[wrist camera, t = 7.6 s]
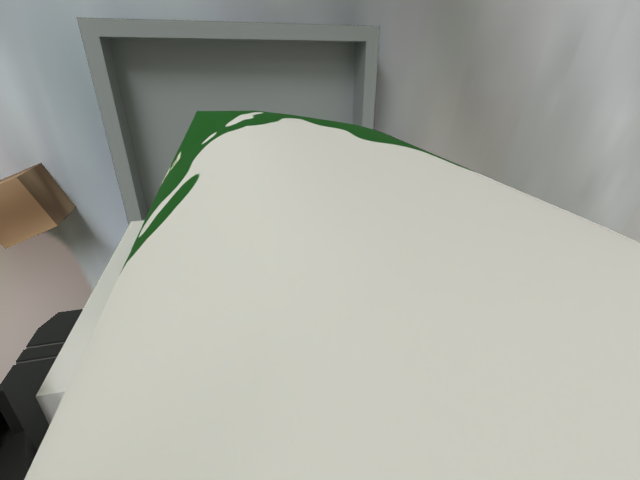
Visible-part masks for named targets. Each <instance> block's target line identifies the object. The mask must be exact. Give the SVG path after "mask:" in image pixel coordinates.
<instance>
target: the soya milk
mask: <svg viewBox="0 0 640 480" xmlns="http://www.w3.org/2000/svg"><path fill="white" fill-rule="evenodd" d="M24 480H640V243H639V242H637V241H634V240H632V239H630V238H628V237H626V236H623V235H621V234H619V233H617V232H615V231H612V230H610V229H608V228H606V227H604V226H601V225H599V224H597V223H594V222H592V221H590V220H587V219H585V218H582V217H580V216H578V215H575V214H573V213H571V212H568V211H566V210H564V209H561V208H559V207H557V206H554V205H552V204H550V203H547V202H545V201H542V200H540V199H538V198H535V197H533V196H531V195H528V194H526V193H524V192H521V191H519V190H517V189H514V188H512V187H509V186H507V185H505V184H502V183H500V182H498V181H495V180H493V179H491V178H488V177H486V176H484V175H481V174H479V173H477V172H474V171H472V170H469V169H467V168H465V167H462V166H460V165H458V164H455V163H453V162H451V161H448V160H446V159H444V158H441V157H439V156H436V155H434V154H432V153H429V152H427V151H425V150H422V149H420V148H418V147H415V146H413V145H410V144H408V143H406V142H403V141H401V140H399V139H396V138H394V137H392V136H389V135H387V134H384V133H381V132H379V131H376V130H373V129H370V128H366V127H363V126H359V125H354V124H348V123H342V122H336V121H330V120H323V119H316V118H310V117H303V116H296V115H289V114H281V113H272V112H263V111H197V112H196V114H195V116H194V118H193V120H192V122H191V124H190V126H189V129H188V131H187V133H186V135H185V137H184V139H183V141H182V143H181V145H180V147H179V149H178V151H177V153H176V155H175V157H174V159H173V161H172V163H171V165H170V167H169V169H168V171H167V174H166V176H165V178H164V180H163V182H162V184H161V186H160V188H159V191H158V193H157V195H156V197H155V199H154V201H153V203H152V206H151V208H150V210H149V212H148V214H147V216H146V219H145V221H144V223H143V225H142V227H141V229H140V232H139V234H138V236H137V238H136V240H135V242H134V245H133V247H132V249H131V251H130V253H129V255H128V258H127V260H126V262H125V264H124V266H123V268H122V270H121V273H120V275H119V277H118V279H117V281H116V283H115V286H114V288H113V290H112V292H111V294H110V296H109V298H108V301H107V303H106V305H105V307H104V309H103V311H102V314H101V316H100V318H99V320H98V322H97V324H96V327H95V329H94V331H93V333H92V335H91V337H90V339H89V342H88V344H87V346H86V348H85V350H84V352H83V355H82V357H81V359H80V361H79V363H78V365H77V367H76V370H75V372H74V374H73V376H72V378H71V380H70V383H69V385H68V387H67V389H66V391H65V393H64V395H63V398H62V400H61V402H60V404H59V406H58V408H57V411H56V413H55V415H54V417H53V419H52V421H51V424H50V426H49V428H48V430H47V432H46V434H45V436H44V439H43V441H42V443H41V445H40V447H39V449H38V451H37V453H36V455H35V458H34V460H33V462H32V464H31V466H30V468H29V470H28V472H27V475H26V477H25V479H24Z"/></svg>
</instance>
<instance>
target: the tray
mask: <svg viewBox="0 0 640 480" xmlns="http://www.w3.org/2000/svg"><path fill="white" fill-rule="evenodd" d="M77 21H78V25H79V29H80V33H81V37H82V41H83V45H84V49H85V53H86V57H87V61H88V65H89V69H90V73H91V77H92V81H93V84H94V88H95V92H96V96H97V100H98V104H99V108H100V112H101V116H102V120H103V124H104V128H105V132H106V136H107V140H108V144H109V148H110V152H111V156H112V160H113V164H114V168H115V172H116V176H117V180H118V184H119V188H120V192H121V196H122V200H123V204H124V208H125V212H126V216H127V220H128V224H130V222H131V221H142V220H145V219H146V216H147V214H148V212H149V210H150V208H151V206H152V203H153V201H154V199H155V197H156V195H157V193H158V191H159V188H160V186H161V184H162V182H163V180H164V178H165V176H166V174H167V171H168V169H169V167H170V165H171V163H172V161H173V159H174V157H175V155H176V153H177V151H178V149H179V147H180V145H181V143H182V141H183V139H184V137H185V135H186V133H187V131H188V129H189V126H190V124H191V122H192V120H193V118H194V116H195V114H196V112H197V111H263V112H272V113H281V114H289V115H296V116H303V117H310V118H316V119H323V120H330V121H336V122H342V123H348V124H354V125H359V126H363V127H366V128H370V129H373V125H374V110H375V94H376V79H377V64H378V49H379V34H380V26H360V25H324V24H289V23H254V22H218V21H183V20H148V19H112V18H77Z"/></svg>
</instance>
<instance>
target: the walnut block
mask: <svg viewBox="0 0 640 480" xmlns="http://www.w3.org/2000/svg"><path fill="white" fill-rule="evenodd" d="M75 208H76V207H75V205H74V204H73V203H72V202H71V200H70V199H69V198H68V196H67V195H66V194H65V193H64V191H63V190H62V189H61V188H60V186H59V185H58V184H57V182H56V181H55V180H54V179H53V177H52V176H51V175H50V174H49V172H48V171H47V170H46V169H45V167H44V166H43V165H42V163H40V164H38V165H35V166H33V167H30V168H28V169H26V170H23V171H21V172H19V173H16V174H14V175H12V176H9V177H7V178H5V179H2V180H0V244H1V245H2V246H3V247H4V248H5V249H6V248H8V247H11V246H13V245H15V244H18V243H20V242H22V241H24V240H27V239H29V238H32V237H34V236H36V235H38V234H41V233H43V232H45V231H48V230H50V229H52V228H55V227H57V226H58V225H59V224H60V223H61V222H62V221H63V220H64V219H65V218H66V217H67V216H68V215H69V214H70V213H71V212H72V211H73V210H74V209H75Z"/></svg>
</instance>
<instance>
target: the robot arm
mask: <svg viewBox="0 0 640 480" xmlns="http://www.w3.org/2000/svg"><path fill="white" fill-rule="evenodd" d="M144 221H145V220H142V221H131V222H130V224H129V226H128V228H127V230H126V232H125V233H124V235H123V237H122V239H121V241H120V243H119V244H118V246H117V248H116V250H115V252H114V254H113V255H112V257H111V259H110V261H109V263H108V265H107V266H106V268H105V270H104V272H103V274H102V276H101V277H100V279H99V281H98V283H97V285H96V287H95V288H94V290H93V292H92V294H91V296H90V298H89V300H88V301H87V303H86V305H85V307H84V309H81V310H73V311H66V312H59V313H57V314H56V315H55V316H53V317H52V318H51V319H50V320H48V321H47V322H46V323H45V324H43V325H42V326H41V327H40V328H38V330H37V331H36V333H35V334H34V336H33V337H32V339H31V340H30V342H29V343H28V345H27V346H26V347H27V349H25V350H23V352H22V353H21V355H20V356H19V358H18V359H17V361H16V365H14V366H13V367H12V368H11V370H10V371H9V373H8V374H7V376H6V377H5V378H4V380H3V381H2V383H1V384H0V480H24V479H25V477H26V475H27V472H28V470H29V468H30V466H31V464H32V462H33V460H34V458H35V455H36V453H37V451H38V449H39V447H40V445H41V443H42V441H43V439H44V436H45V434H46V432H47V430H48V428H49V426H50V424H51V421H52V419H53V417H54V415H55V413H56V411H57V408H58V406H59V404H60V402H61V400H62V398H63V395H64V393H65V391H66V389H67V387H68V385H69V383H70V380H71V378H72V376H73V374H74V372H75V370H76V367H77V365H78V363H79V361H80V359H81V357H82V355H83V352H84V350H85V348H86V346H87V344H88V342H89V339H90V337H91V335H92V333H93V331H94V329H95V327H96V324H97V322H98V320H99V318H100V316H101V314H102V311H103V309H104V307H105V305H106V303H107V301H108V298H109V296H110V294H111V292H112V290H113V288H114V286H115V283H116V281H117V279H118V277H119V275H120V273H121V270H122V268H123V266H124V264H125V262H126V260H127V258H128V255H129V253H130V251H131V249H132V247H133V245H134V242H135V240H136V238H137V236H138V234H139V232H140V229H141V227H142V225H143V223H144Z"/></svg>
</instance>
